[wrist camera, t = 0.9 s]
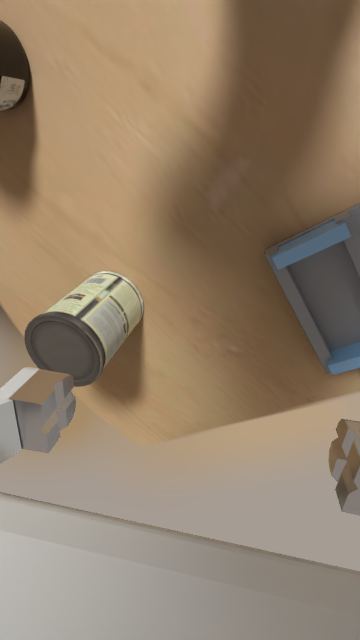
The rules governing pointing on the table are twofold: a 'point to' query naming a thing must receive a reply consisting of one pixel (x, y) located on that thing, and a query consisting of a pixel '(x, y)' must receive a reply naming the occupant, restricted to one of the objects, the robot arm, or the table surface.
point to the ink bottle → (12, 69)
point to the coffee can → (85, 327)
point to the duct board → (325, 286)
